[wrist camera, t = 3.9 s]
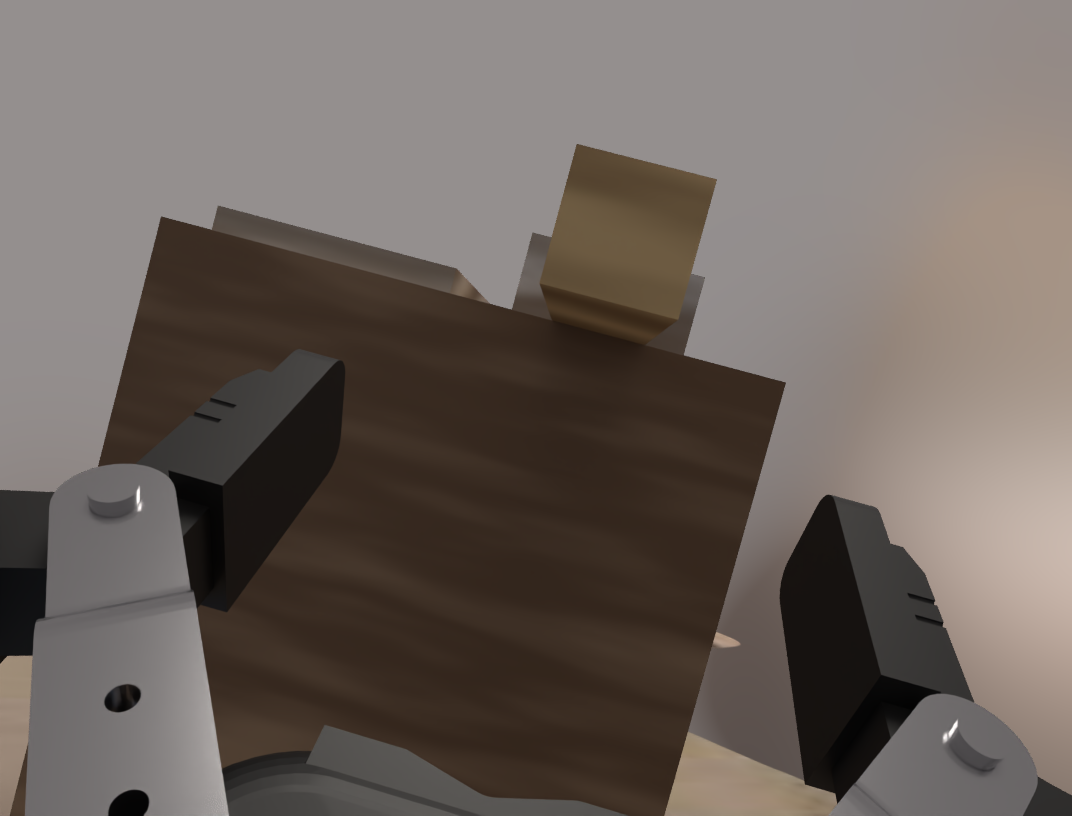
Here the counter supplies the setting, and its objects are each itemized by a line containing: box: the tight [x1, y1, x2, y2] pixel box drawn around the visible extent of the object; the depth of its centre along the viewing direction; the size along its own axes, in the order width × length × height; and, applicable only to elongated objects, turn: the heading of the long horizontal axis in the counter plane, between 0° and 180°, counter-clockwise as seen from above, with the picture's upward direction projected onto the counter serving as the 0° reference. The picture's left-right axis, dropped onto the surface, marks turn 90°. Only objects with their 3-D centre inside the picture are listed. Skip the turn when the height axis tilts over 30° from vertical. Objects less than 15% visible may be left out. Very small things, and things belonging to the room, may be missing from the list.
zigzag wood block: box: [10, 206, 786, 816], centre depth 35 cm, size 14×24×33 cm, turn 87°
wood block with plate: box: [512, 144, 717, 355], centre depth 29 cm, size 22×9×5 cm, turn 177°
